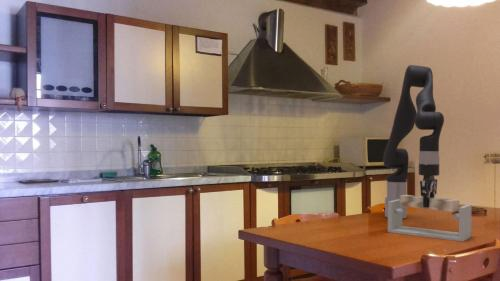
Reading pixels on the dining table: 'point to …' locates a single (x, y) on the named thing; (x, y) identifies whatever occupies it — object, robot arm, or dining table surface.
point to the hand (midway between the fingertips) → (428, 206)
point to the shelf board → (430, 203)
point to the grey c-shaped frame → (396, 227)
